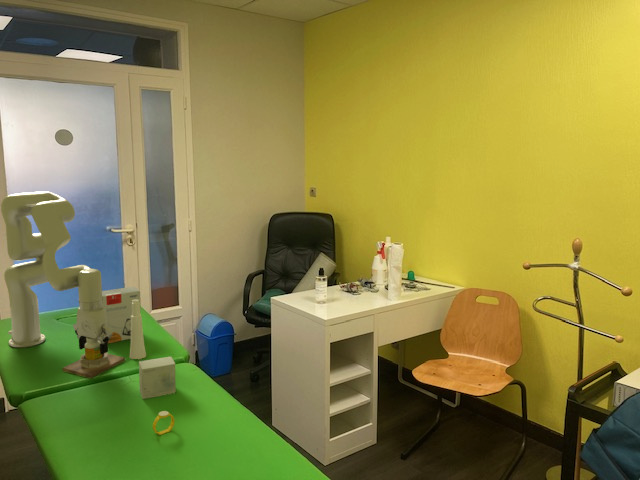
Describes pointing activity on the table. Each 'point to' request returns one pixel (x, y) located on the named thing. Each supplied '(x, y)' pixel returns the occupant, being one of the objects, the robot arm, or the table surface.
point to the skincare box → (157, 377)
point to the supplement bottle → (92, 349)
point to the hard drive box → (119, 311)
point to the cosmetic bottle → (136, 333)
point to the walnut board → (93, 370)
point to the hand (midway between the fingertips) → (93, 350)
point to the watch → (163, 415)
